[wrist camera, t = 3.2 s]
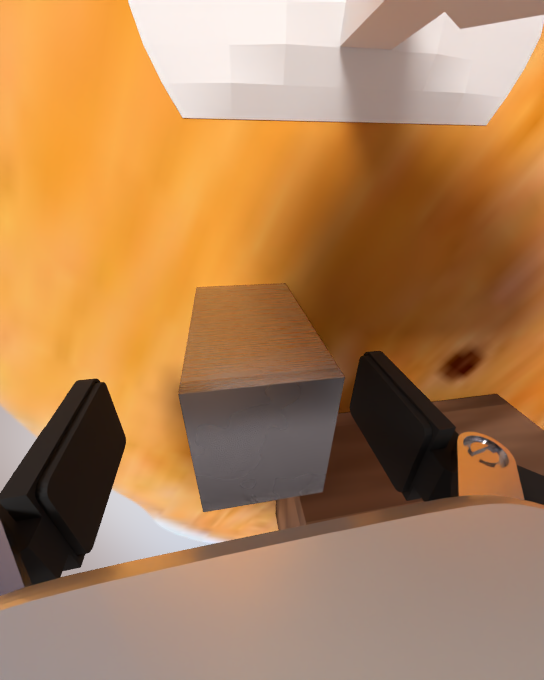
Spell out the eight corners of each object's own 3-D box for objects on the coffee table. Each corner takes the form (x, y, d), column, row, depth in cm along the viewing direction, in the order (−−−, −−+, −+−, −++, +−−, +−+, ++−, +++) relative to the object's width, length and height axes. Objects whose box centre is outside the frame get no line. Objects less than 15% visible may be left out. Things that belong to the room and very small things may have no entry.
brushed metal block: (196, 287, 12) (178, 393, 6) (285, 283, 13) (344, 377, 7) (208, 376, 15) (203, 512, 9) (281, 369, 15) (322, 491, 9)
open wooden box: (279, 420, 17) (307, 529, 12) (496, 394, 20) (599, 474, 15) (275, 513, 23) (293, 615, 18) (445, 483, 26) (505, 565, 20)
